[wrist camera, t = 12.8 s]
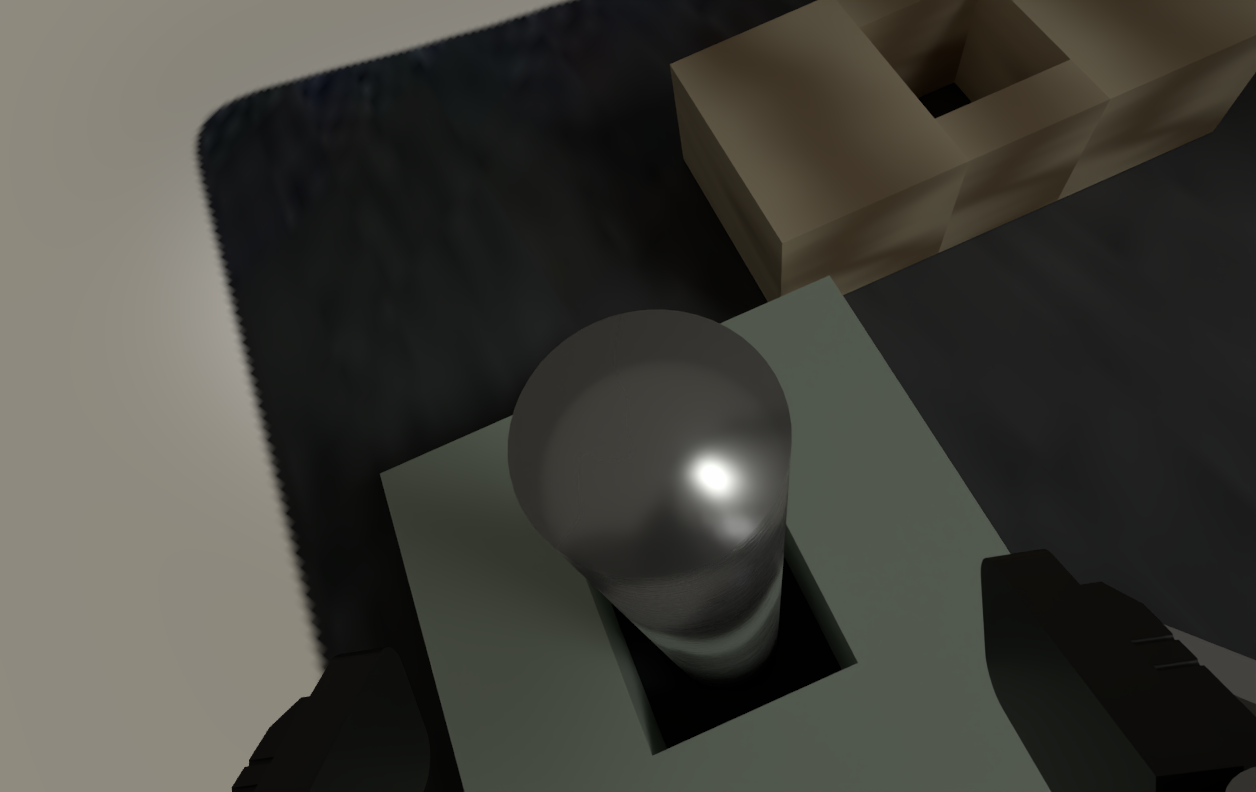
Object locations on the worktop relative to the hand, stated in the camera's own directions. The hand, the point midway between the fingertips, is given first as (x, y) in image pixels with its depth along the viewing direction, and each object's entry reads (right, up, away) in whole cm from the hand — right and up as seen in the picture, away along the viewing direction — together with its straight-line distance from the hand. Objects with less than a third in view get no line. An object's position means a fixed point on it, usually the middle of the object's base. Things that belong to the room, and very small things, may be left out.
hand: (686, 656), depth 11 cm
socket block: (+2, -3, +12) cm, 12 cm away
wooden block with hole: (+10, +12, +17) cm, 23 cm away
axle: (+2, -3, +12) cm, 12 cm away
